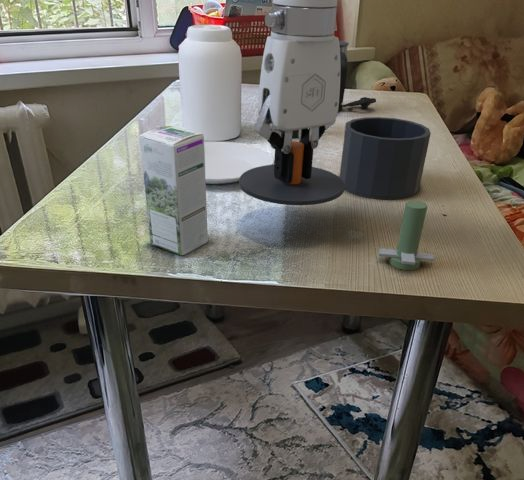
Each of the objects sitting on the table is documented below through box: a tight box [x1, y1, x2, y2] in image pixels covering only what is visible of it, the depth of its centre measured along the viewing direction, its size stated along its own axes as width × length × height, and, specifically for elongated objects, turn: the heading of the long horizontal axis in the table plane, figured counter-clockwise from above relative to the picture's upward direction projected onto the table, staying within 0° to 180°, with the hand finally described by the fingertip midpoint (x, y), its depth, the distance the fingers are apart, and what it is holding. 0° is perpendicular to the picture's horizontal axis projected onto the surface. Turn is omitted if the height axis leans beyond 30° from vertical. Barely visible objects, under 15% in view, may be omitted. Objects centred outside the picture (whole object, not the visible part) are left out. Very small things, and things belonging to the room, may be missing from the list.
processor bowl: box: [339, 116, 432, 200], centre depth 92 cm, size 14×14×10 cm
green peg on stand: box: [378, 199, 435, 271], centre depth 69 cm, size 7×7×8 cm
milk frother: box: [338, 40, 377, 112], centre depth 134 cm, size 14×16×15 cm
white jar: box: [177, 24, 243, 142], centre depth 111 cm, size 12×12×20 cm
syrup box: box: [139, 125, 209, 257], centre depth 69 cm, size 6×6×14 cm
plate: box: [204, 141, 274, 185], centre depth 97 cm, size 21×21×2 cm
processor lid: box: [238, 140, 345, 206], centre depth 74 cm, size 15×15×6 cm
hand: (292, 177), depth 75 cm, fingers closed on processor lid, 2 cm apart
